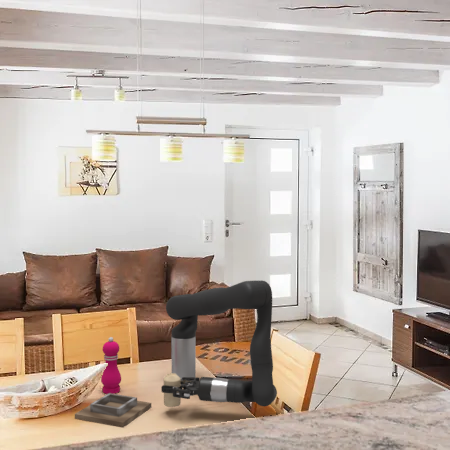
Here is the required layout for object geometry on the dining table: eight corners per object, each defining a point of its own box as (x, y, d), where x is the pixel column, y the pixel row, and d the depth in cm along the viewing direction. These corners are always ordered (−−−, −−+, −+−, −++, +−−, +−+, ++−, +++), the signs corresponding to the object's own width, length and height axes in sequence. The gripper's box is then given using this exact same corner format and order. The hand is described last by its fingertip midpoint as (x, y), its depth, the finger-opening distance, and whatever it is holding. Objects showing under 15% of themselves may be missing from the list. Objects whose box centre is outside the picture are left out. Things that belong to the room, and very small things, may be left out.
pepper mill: (97, 393, 211) (96, 338, 210) (108, 386, 218) (108, 333, 217) (114, 395, 209) (113, 340, 207) (125, 389, 215) (124, 335, 214)
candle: (177, 407, 190) (177, 377, 189) (161, 406, 191) (161, 376, 190) (182, 401, 195) (182, 372, 195) (166, 400, 196) (166, 371, 196)
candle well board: (106, 399, 205) (105, 388, 205) (151, 407, 198) (151, 395, 198) (74, 418, 188) (74, 406, 188) (123, 427, 182) (123, 414, 181)
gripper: (219, 371, 196) (170, 367, 200) (209, 385, 182) (157, 381, 186) (219, 393, 197) (171, 389, 200) (209, 409, 183) (157, 404, 186)
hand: (164, 385), depth 193 cm, fingers closed on candle, 5 cm apart
